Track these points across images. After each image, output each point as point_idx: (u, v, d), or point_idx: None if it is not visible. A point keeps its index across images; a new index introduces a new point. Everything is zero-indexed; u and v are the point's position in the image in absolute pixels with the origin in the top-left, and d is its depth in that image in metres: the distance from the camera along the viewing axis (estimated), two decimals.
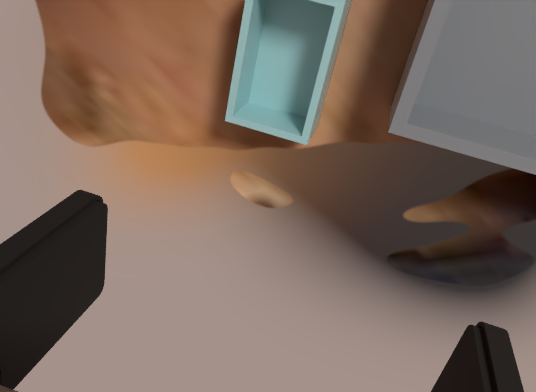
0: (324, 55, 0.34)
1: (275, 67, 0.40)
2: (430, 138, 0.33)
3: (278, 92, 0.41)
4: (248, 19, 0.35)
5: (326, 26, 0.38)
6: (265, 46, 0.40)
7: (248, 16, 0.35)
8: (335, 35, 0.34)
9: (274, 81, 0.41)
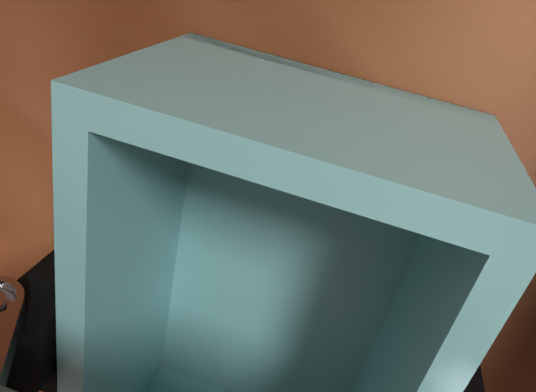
0: None
1: (228, 301, 0.14)
2: None
3: (240, 358, 0.14)
4: (80, 252, 0.08)
5: None
6: (196, 247, 0.13)
7: (76, 240, 0.08)
8: (473, 362, 0.07)
9: (227, 332, 0.14)
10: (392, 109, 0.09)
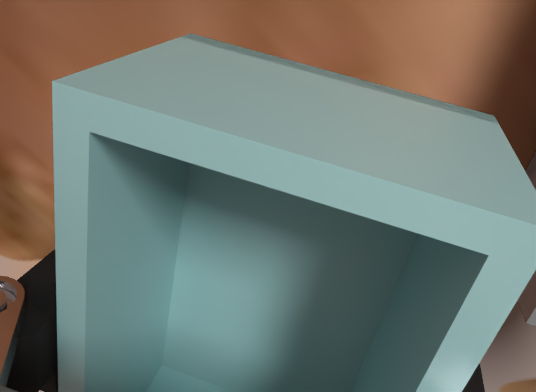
0: None
1: (228, 301, 0.14)
2: None
3: (240, 358, 0.14)
4: (80, 252, 0.08)
5: None
6: (196, 247, 0.13)
7: (77, 241, 0.08)
8: (472, 362, 0.07)
9: (228, 332, 0.14)
10: (392, 109, 0.09)
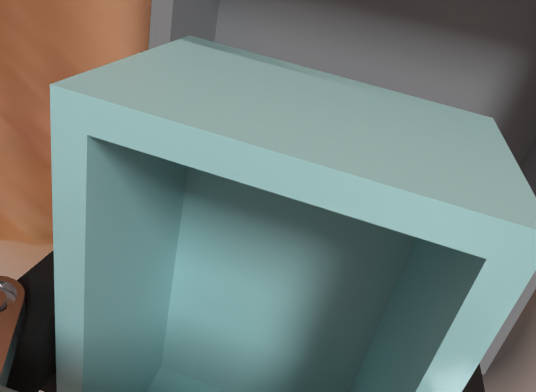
0: None
1: (227, 303, 0.14)
2: None
3: (239, 359, 0.14)
4: (79, 255, 0.08)
5: None
6: (195, 249, 0.13)
7: (75, 243, 0.08)
8: (470, 365, 0.07)
9: (227, 333, 0.14)
10: (390, 112, 0.09)
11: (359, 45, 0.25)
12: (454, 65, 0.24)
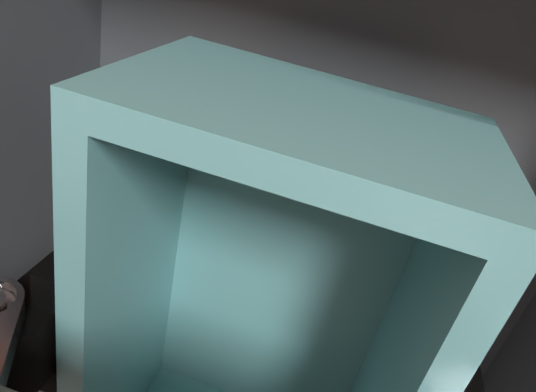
0: None
1: (228, 303, 0.14)
2: None
3: (239, 360, 0.14)
4: (79, 256, 0.08)
5: None
6: (195, 249, 0.13)
7: (76, 244, 0.08)
8: (471, 366, 0.07)
9: (227, 334, 0.14)
10: (391, 112, 0.09)
11: None
12: None
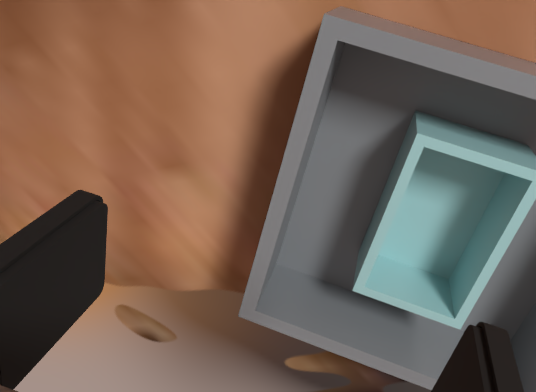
0: (505, 234, 0.26)
1: (410, 218, 0.32)
2: (279, 327, 0.32)
3: (410, 245, 0.33)
4: (406, 182, 0.27)
5: (487, 179, 0.30)
6: None
7: (406, 178, 0.27)
8: (525, 213, 0.26)
9: (407, 232, 0.33)
10: (496, 142, 0.28)
11: None
12: None
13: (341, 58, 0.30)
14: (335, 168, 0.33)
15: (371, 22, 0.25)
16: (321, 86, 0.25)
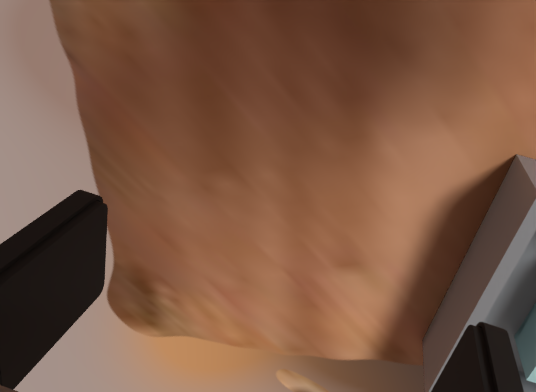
0: None
1: None
2: None
3: None
4: None
5: None
6: None
7: None
8: None
9: None
10: None
11: None
12: None
13: None
14: None
15: None
16: (528, 241, 0.32)
